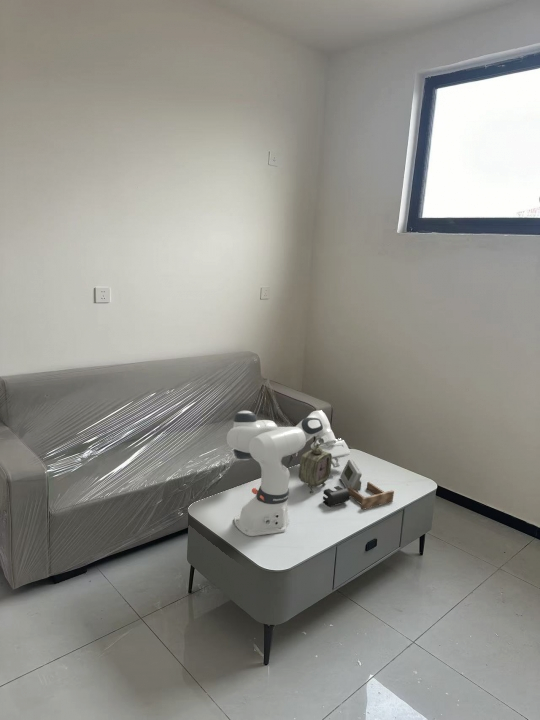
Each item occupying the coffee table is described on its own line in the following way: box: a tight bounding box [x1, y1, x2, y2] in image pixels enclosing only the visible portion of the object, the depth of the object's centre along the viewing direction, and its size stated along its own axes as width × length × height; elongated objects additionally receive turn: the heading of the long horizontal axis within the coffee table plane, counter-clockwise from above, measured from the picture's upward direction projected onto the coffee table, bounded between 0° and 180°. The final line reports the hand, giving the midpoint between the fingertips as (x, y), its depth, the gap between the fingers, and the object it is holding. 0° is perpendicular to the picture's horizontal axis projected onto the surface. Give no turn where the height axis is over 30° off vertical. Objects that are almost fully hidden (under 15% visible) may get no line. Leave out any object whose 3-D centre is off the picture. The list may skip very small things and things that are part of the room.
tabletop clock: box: [298, 438, 332, 495], centre depth 231 cm, size 14×9×25 cm, turn 143°
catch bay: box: [347, 481, 395, 510], centre depth 228 cm, size 18×14×5 cm
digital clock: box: [339, 458, 362, 492], centre depth 237 cm, size 16×9×11 cm, turn 176°
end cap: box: [322, 485, 351, 508], centre depth 221 cm, size 10×7×7 cm
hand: (336, 466), depth 247 cm, fingers closed
